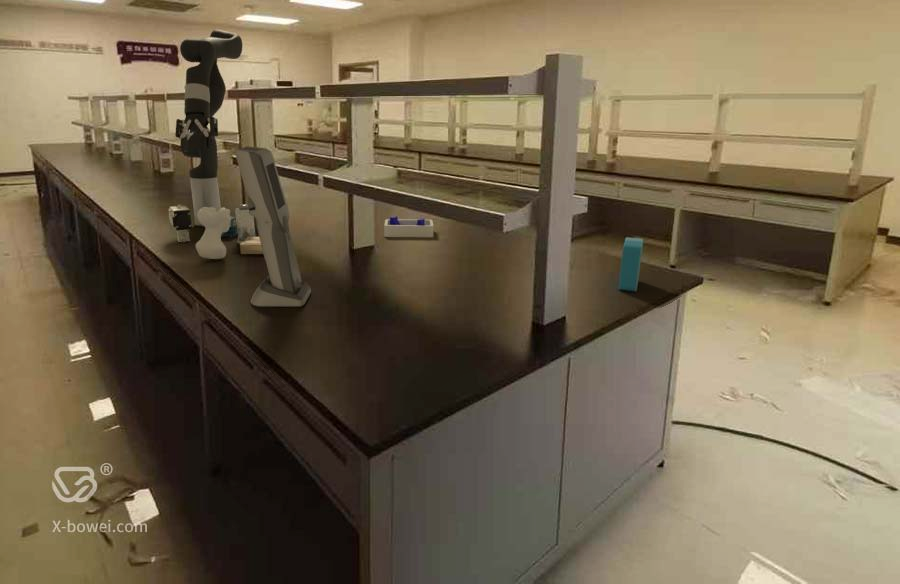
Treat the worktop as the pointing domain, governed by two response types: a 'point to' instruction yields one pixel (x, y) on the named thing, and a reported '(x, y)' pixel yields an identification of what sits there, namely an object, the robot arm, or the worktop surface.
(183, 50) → the robot arm
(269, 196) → the thermal camera
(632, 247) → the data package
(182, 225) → the pneumatic valve
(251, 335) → the worktop surface
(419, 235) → the clip tray
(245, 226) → the housing
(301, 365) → the worktop surface
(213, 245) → the white lobed block
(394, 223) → the cable clip
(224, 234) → the puzzle
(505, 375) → the worktop surface
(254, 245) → the stand
